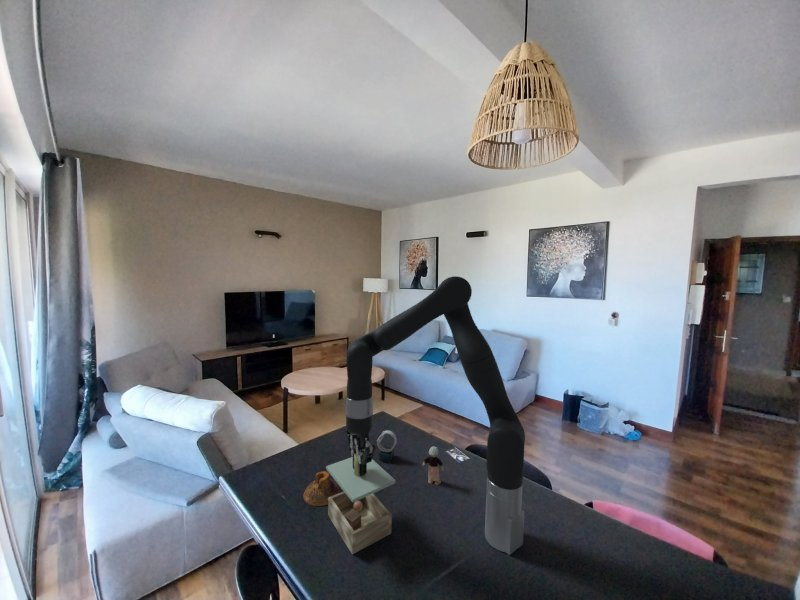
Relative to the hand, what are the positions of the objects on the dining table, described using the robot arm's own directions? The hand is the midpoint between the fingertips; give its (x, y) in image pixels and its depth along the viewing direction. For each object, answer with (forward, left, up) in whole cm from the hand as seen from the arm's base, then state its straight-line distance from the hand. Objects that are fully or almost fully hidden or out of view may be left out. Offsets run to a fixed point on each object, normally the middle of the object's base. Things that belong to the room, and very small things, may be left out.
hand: (359, 471), depth 88 cm
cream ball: (-4, -2, -16) cm, 17 cm away
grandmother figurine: (+3, -31, -17) cm, 36 cm away
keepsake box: (0, 0, -17) cm, 17 cm away
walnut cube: (0, +2, -16) cm, 16 cm away
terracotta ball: (+5, -2, -16) cm, 17 cm away
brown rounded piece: (+18, +4, -17) cm, 25 cm away
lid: (0, 0, -1) cm, 1 cm away
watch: (+24, -25, -17) cm, 39 cm away
